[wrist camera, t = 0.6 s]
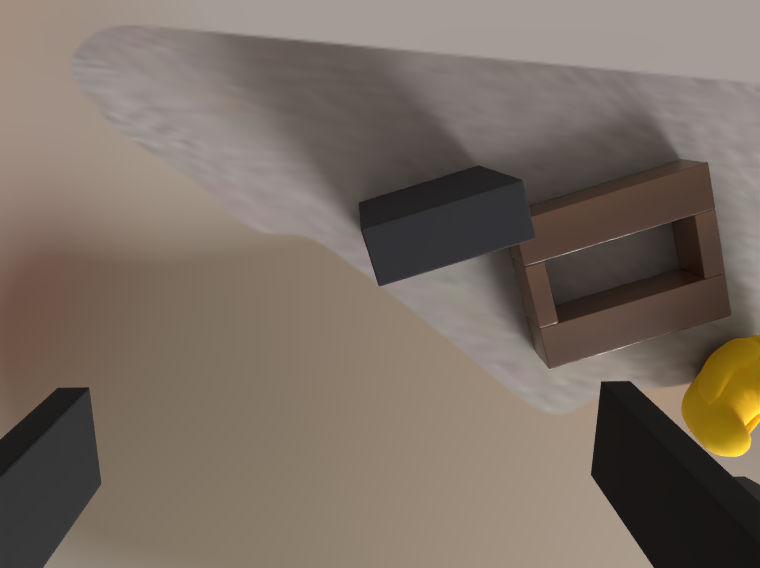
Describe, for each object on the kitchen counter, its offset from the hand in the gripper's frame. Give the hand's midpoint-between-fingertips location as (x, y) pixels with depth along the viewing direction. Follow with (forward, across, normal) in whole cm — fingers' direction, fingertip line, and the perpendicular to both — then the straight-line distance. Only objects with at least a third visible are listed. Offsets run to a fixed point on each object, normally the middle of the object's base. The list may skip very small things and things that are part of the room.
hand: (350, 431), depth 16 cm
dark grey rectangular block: (+24, +5, +3) cm, 25 cm away
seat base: (+24, +17, -1) cm, 30 cm away
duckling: (+25, +27, -8) cm, 37 cm away
